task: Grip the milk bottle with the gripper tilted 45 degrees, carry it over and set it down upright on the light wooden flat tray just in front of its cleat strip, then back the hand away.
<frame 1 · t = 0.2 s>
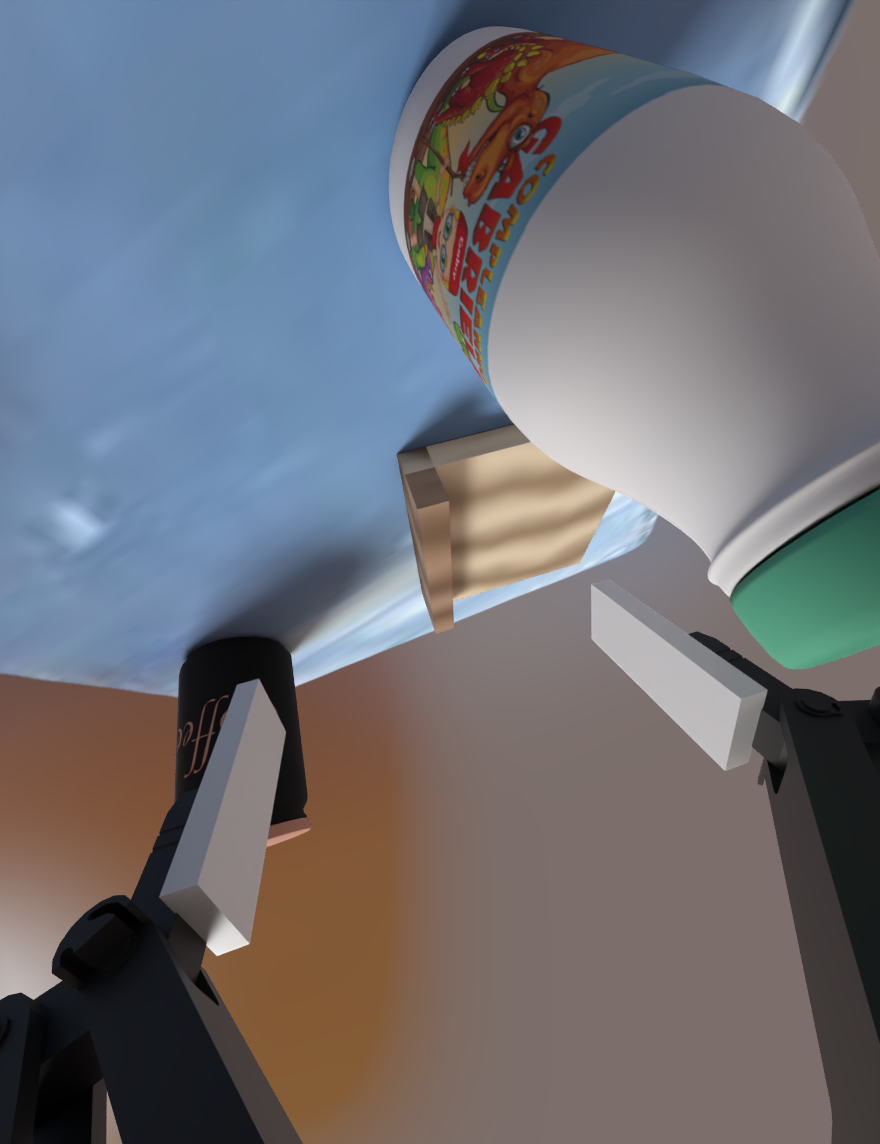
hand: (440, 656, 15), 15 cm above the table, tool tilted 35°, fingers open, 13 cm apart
light wooden flat tray: (507, 514, 35), on the table
coffee jar: (238, 655, 42), on the table
milk bottle: (476, 185, 16), on the table
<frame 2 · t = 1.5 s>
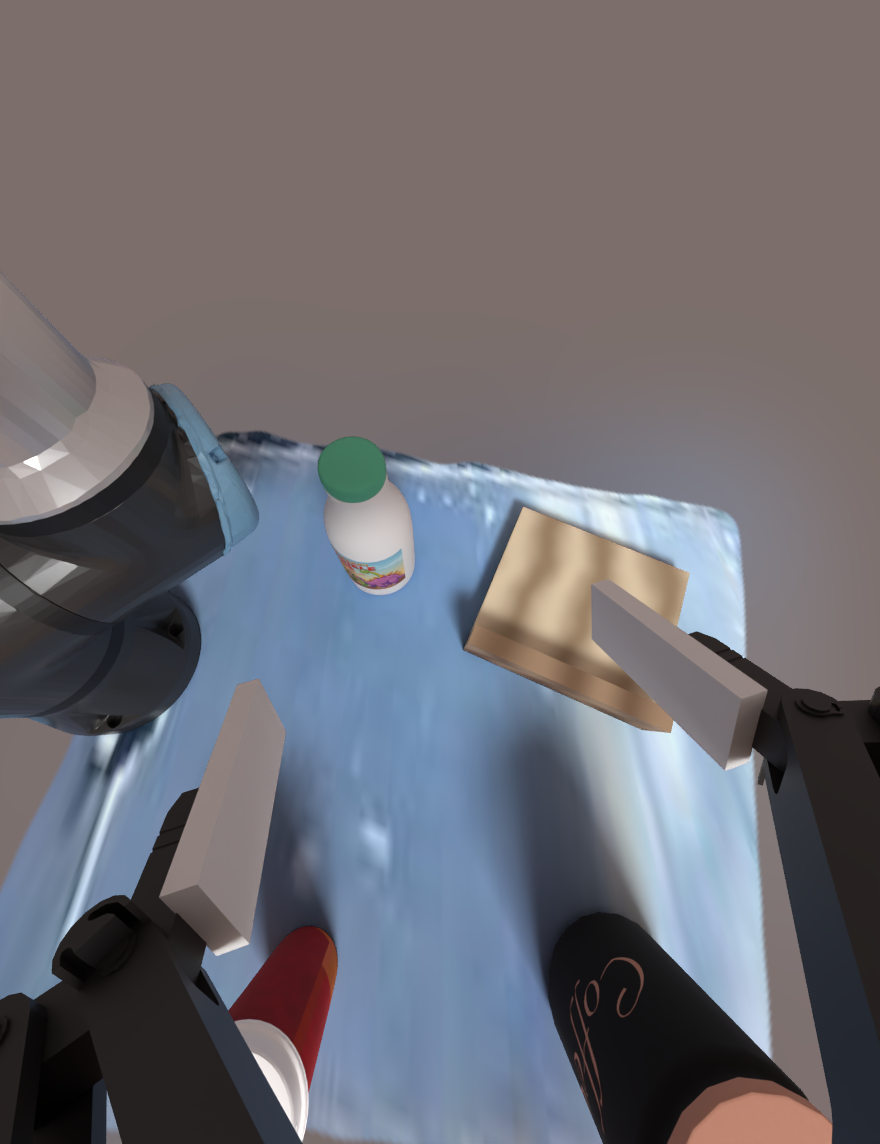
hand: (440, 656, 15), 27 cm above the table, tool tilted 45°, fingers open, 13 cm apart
light wooden flat tray: (575, 612, 44), on the table
coffee jar: (604, 980, 34), on the table
milk bottle: (382, 565, 45), on the table
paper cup: (306, 965, 33), on the table
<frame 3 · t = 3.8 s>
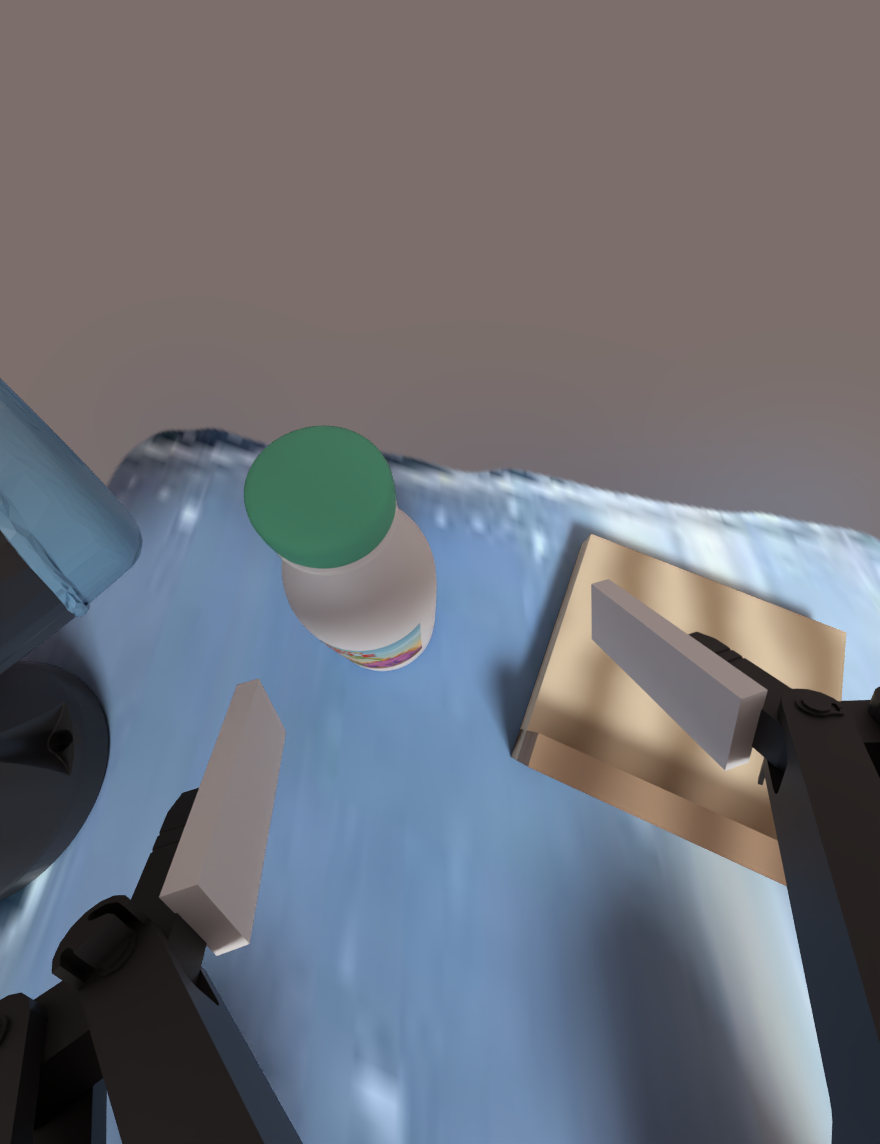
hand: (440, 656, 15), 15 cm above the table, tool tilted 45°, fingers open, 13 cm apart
light wooden flat tray: (675, 693, 29), on the table
milk bottle: (385, 622, 31), on the table
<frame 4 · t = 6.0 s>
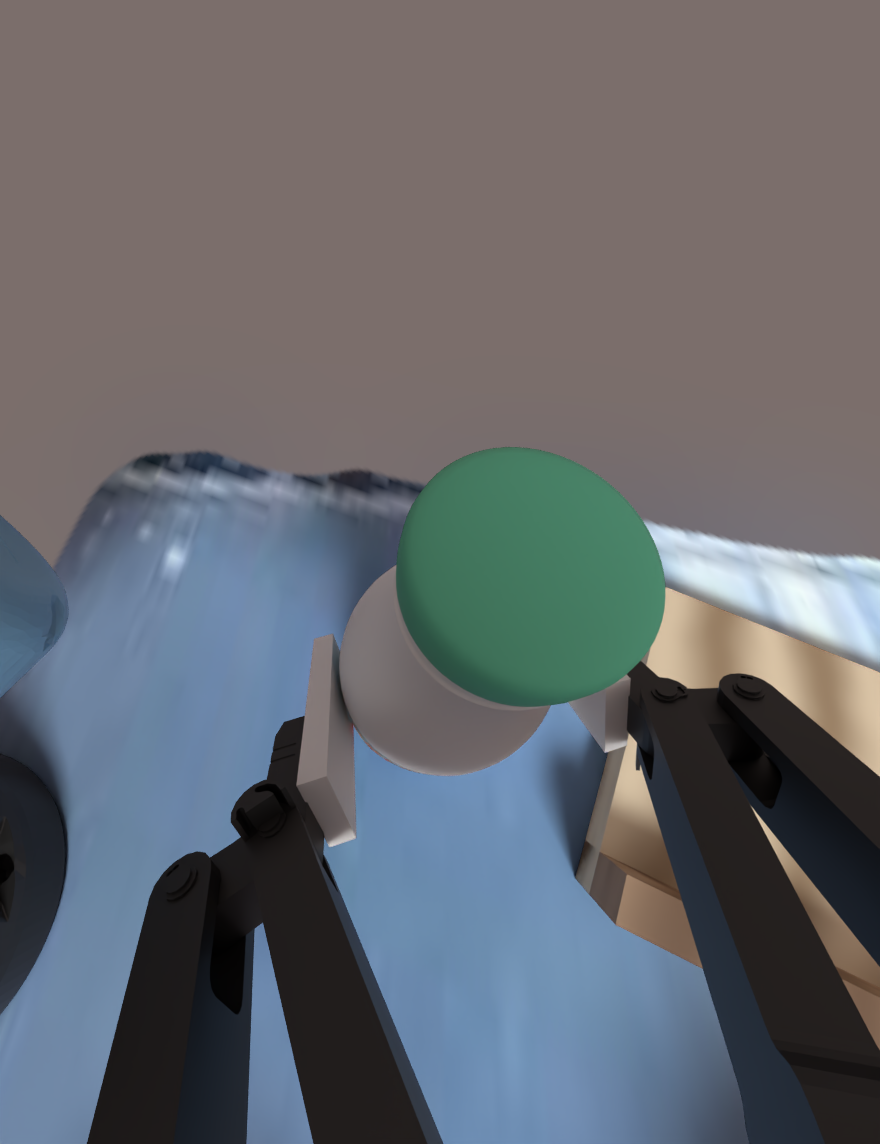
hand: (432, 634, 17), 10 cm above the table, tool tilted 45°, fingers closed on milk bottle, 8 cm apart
light wooden flat tray: (776, 791, 24), on the table
milk bottle: (413, 695, 24), on the table, touching gripper
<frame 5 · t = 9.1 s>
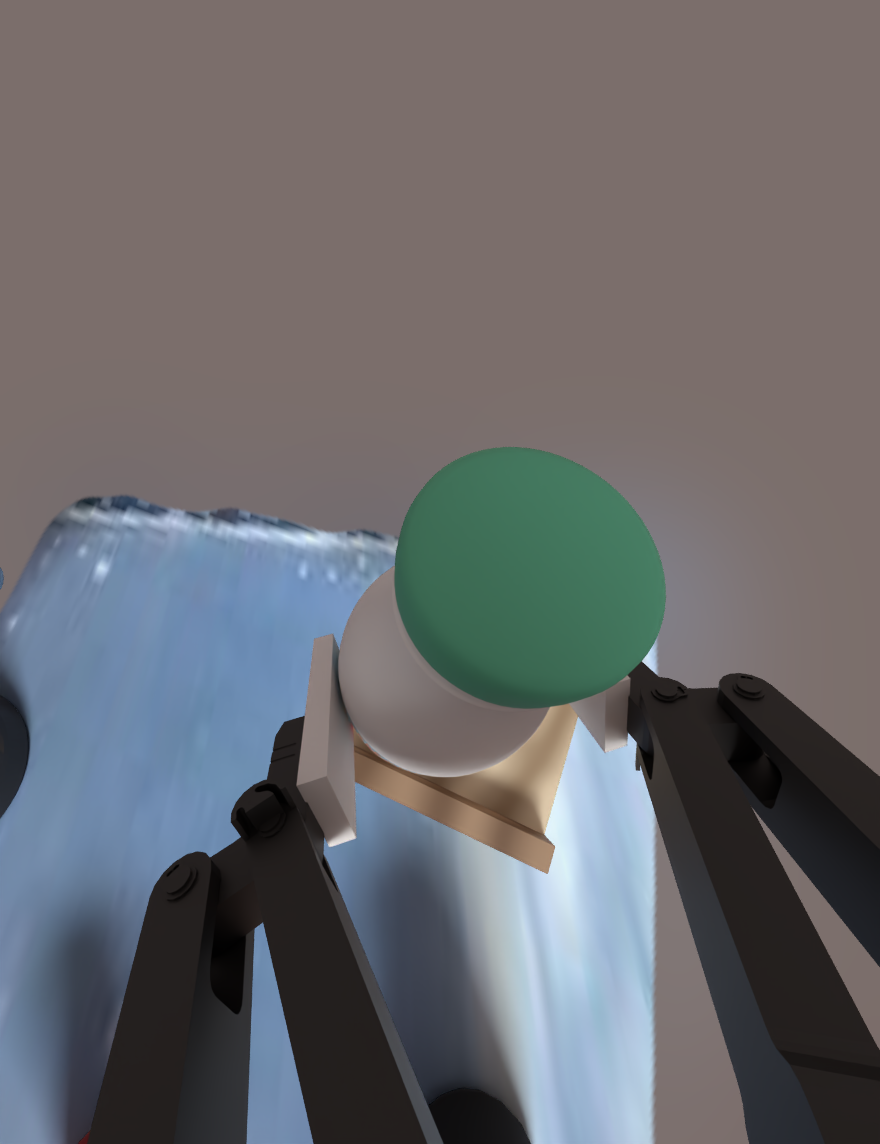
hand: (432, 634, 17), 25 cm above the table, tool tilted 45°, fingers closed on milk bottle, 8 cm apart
light wooden flat tray: (465, 709, 39), on the table
milk bottle: (413, 696, 24), point 16 cm above the table, touching gripper
when the fingers open (13 cm above the table, at t = 12.3 s): milk bottle drops 2 cm, resting on light wooden flat tray.
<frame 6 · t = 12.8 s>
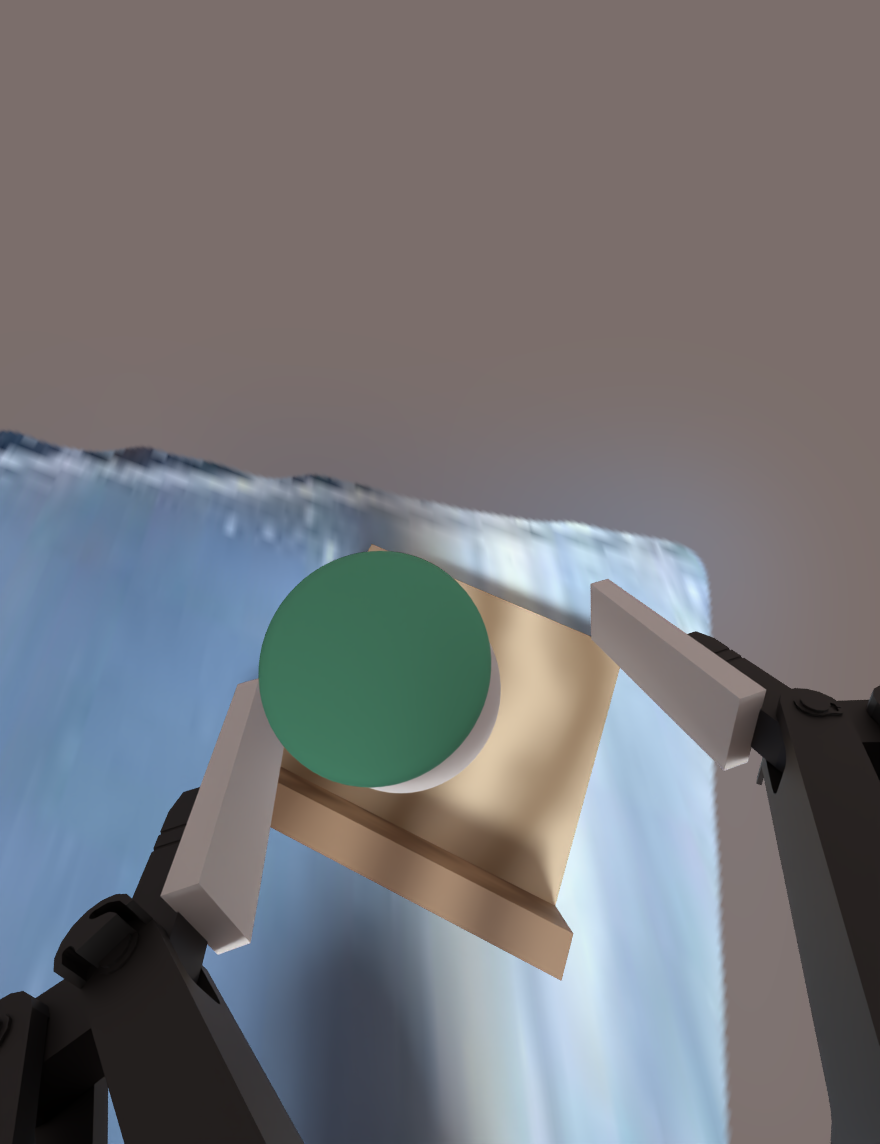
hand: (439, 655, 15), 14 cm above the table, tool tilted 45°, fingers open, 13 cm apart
light wooden flat tray: (443, 714, 28), on the table
milk bottle: (417, 696, 26), point 2 cm above the table, touching light wooden flat tray
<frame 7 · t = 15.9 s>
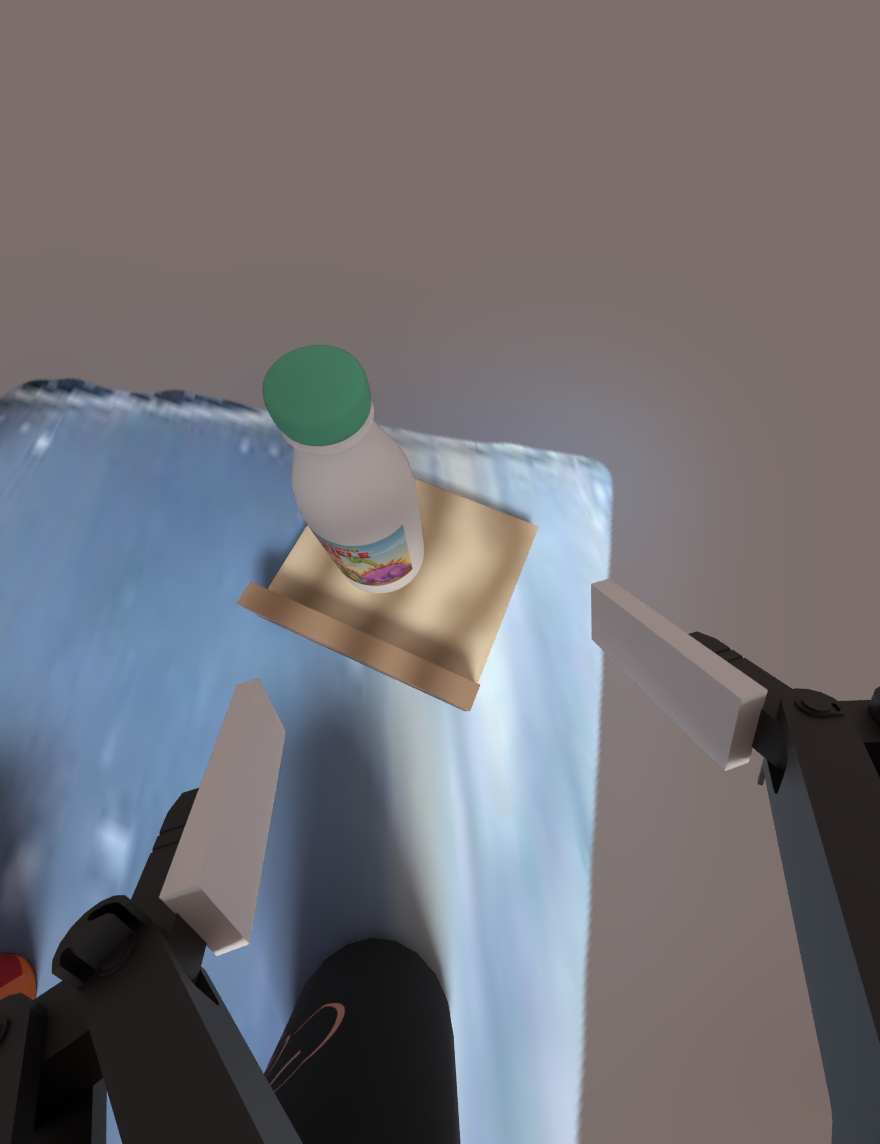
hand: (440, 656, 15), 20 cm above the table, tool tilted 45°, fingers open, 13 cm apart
light wooden flat tray: (404, 574, 37), on the table
coffee jar: (373, 1025, 26), on the table
milk bottle: (382, 556, 36), point 2 cm above the table, touching light wooden flat tray
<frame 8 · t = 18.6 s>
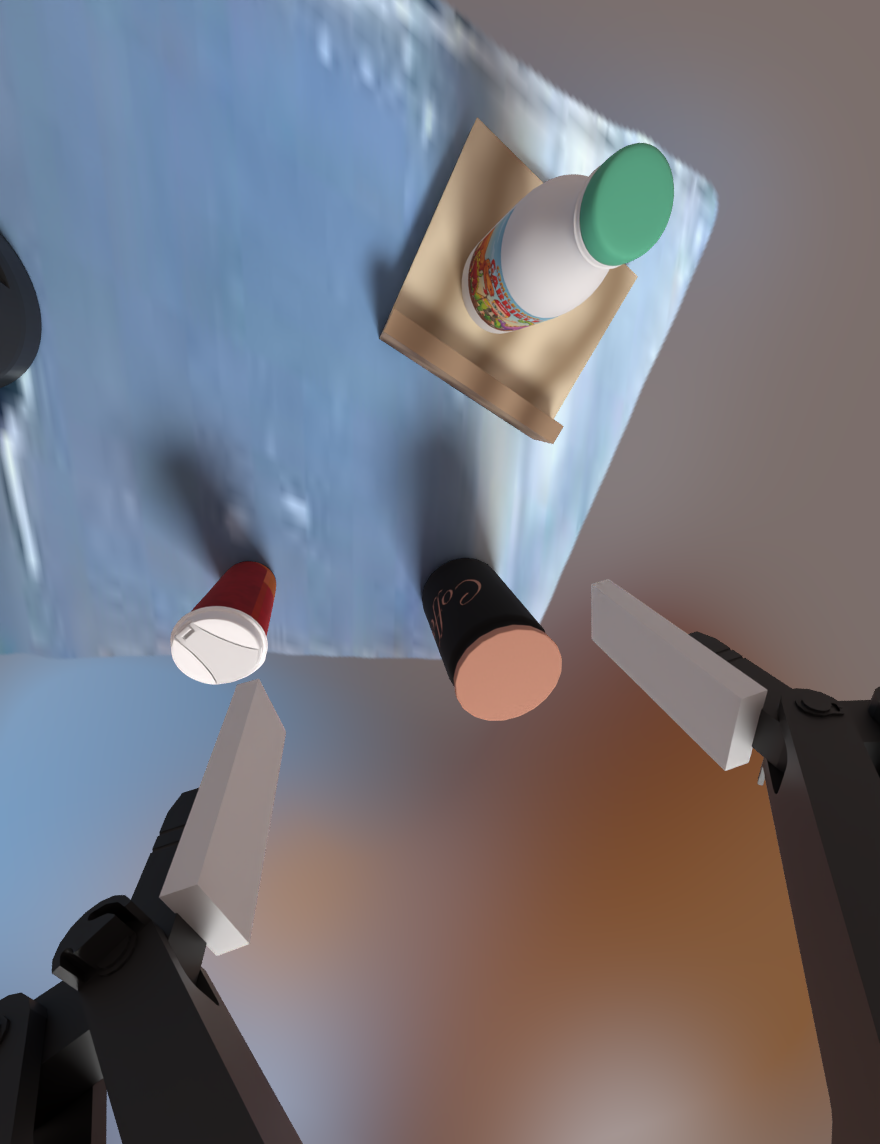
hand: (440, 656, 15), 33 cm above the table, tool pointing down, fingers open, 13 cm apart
light wooden flat tray: (506, 309, 40), on the table
coffee jar: (459, 590, 53), on the table
milk bottle: (497, 288, 37), point 2 cm above the table, touching light wooden flat tray
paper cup: (251, 582, 46), on the table
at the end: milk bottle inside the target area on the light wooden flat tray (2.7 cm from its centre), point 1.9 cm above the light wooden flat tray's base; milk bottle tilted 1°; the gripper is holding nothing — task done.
